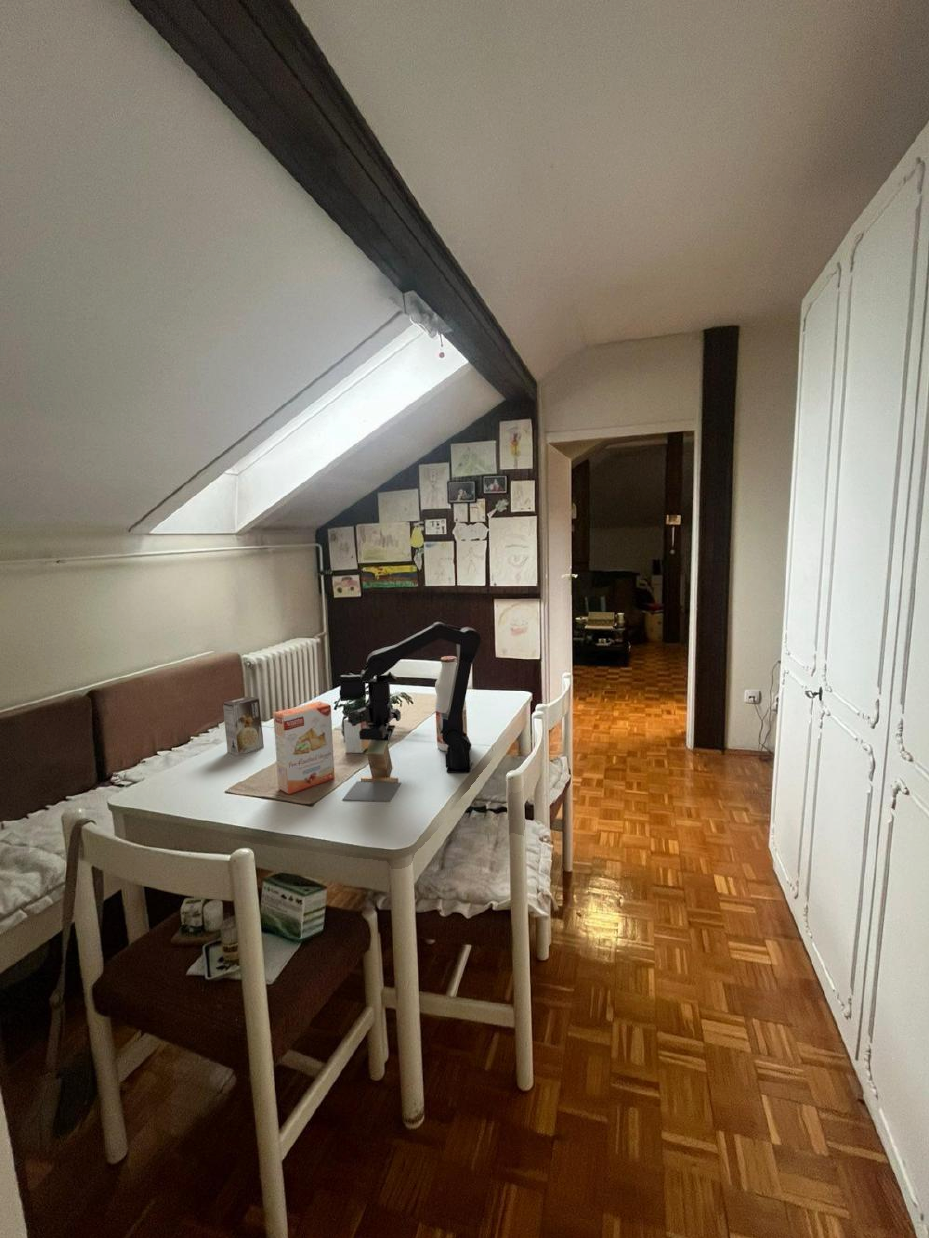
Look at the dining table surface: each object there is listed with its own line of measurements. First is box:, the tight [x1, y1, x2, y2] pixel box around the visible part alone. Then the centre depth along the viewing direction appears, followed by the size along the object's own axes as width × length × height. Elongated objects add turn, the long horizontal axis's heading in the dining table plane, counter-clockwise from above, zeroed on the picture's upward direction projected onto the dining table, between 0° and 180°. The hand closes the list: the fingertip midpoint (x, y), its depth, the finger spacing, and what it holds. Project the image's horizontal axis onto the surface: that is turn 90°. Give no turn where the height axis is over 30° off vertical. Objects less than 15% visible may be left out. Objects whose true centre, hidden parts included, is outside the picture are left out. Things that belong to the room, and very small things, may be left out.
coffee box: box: [222, 695, 265, 757], centre depth 182 cm, size 9×6×16 cm
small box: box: [343, 716, 371, 754], centre depth 180 cm, size 8×6×10 cm
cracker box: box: [272, 701, 335, 795], centre depth 154 cm, size 14×6×21 cm, turn 136°
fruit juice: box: [434, 655, 468, 752], centre depth 178 cm, size 9×9×28 cm
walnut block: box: [365, 740, 394, 778], centre depth 156 cm, size 4×4×10 cm
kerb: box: [360, 776, 399, 782], centre depth 155 cm, size 10×1×1 cm, turn 81°
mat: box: [341, 780, 402, 803], centre depth 149 cm, size 12×11×1 cm
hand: (382, 754), depth 158 cm, fingers closed
